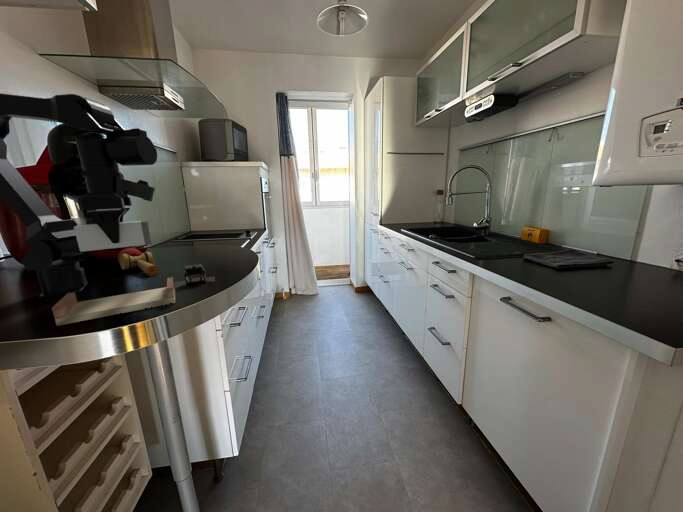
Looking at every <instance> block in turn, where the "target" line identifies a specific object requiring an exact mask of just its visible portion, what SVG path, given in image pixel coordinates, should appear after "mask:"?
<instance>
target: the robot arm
mask: <svg viewBox="0 0 683 512" xmlns="http://www.w3.org/2000/svg"><path fill="white" fill-rule="evenodd" d="M13 118H15V119H16V118H17V119H26V120H36V121H42V122H43V121H46V122H54V123H60V124H64V125H68V126H71V127H74V128H77V129H82V130H87V131H88V132H91V133H84V131H80V130H76V129H72V130H71V132H70V133H68V134H66V135H65V137H63V141H64V142H65V143H71V144H75V145H76V147H77V151H78V154H79V159H80V163H81V167H82V170H80V173H81V174H80V175H81V176H82V177H84V180H85V184H86V187H87V188H86V189H87V192H85V193H83V194H82V195H81V196H80V197H79V198H78V199H77V204H78V208H79V211H86V214H87V215H88V216H89V217H90V218H91V219H92V220H93V221H94V223H95V224H97V225H98V226H99V227H100V228H101V229H102V231H103V232H104V233H105V234H106V235H107V237H108V238H109V239H110V240H111V242H112V243H119V242H120V222H124V217H125V215H126V214H127V212H129V211H130V210H131V207H132V206H133V203H132V197H136V198H139V199H142V200H144V201H147V202H153V199H154V193H155V191H156V187H153V186H150V185H149V181H146V180H143V179H138V181H137V182H135V181H131V180H128V179H125V177H124V174H123V173H122V172H121V171H120V166H122V167H129V166H132V167H133V166H153V165H155V163H156V162H157V160H158V151H157V148H156V147H155V145H154V143H153V141H152V140H151V139H150V138H149V136H148V133H147V130H145V129H142V128H140V127H139V128H131V129H125V128H124V127H123V126H122V124H120V122H119V121H118V120H117V119H116V118H115V116H114V113H113V112H112V110H111V109H110V108H109V106H107V105H106V104H103V103H101V102H98V101H95V100H93V99H90V98H88V97H84V96H81V95H79V94H75V93H68V94H67V93H66V94H55V95H54V96H52V97H49V98H48V97H47V98H43V97H35V96H29V95H28V96H27V95H19V94H10V93H9V94H8V93H0V198H1V199H2V200H3V202H4V203H5V204H6V205H7V206H8V207H9V208H10V210H11V211H12V212H13V214H15V216H16V217H17V218H18V219H19V220H20V221H21V222H22V223H23V225H24V227H25V228H26V229H25V230H26V232H25V234H26V235H25V241H26V242H27V244H28V246H29V250H28V251H27V253H26V254H25V256H24V257H23V258H22V260H21V264H22V265H23V266H24V268H25V269H26V271H35V272H36V275H37V278H38V281H39V285H40V289H41V292H42V293H40V295H39V298H40V299H43V298H49V297H56V296H62V295H66V294H67V293H73V292H75V294H76V293H79V292H82V290H83V289H85V287H86V286H87V285H88V279H87V275H86V272H85V269H84V267H81V265H80V262H81V261H83V262H84V261H85V260H86V255H87V251H82V252H80V249H79V245H78V241H77V238H76V234H75V230H74V227H75V226H78V223H77V222H76V221H75V220H74V219H61V218H59V217H58V216H56V215H55V214H54V212H53V211H52V210H51V209H50V208H49V207H48V205H47V204H46V203H45V202H44V201H43V199H41V197H40V196H39V194H37V192H36V191H35V190H34V189H33V188H32V186H31V185H30V184H29V183H28V182H27V181H26V179H25V178H24V177H23V176H22V175H21V173H20V172H19V171H18V170H17V168H16V167H15V166H14V165H13V164H12V163H11V161H10V160H9V158H8V156H7V155H8V145H7V144H6V142H5V139H6V137H8V135H10V132H11V131H10V120H12V119H13ZM100 134H101V135H100ZM102 135H104V136H105V137H103V136H102ZM119 165H120V166H119ZM130 196H132V197H130ZM127 206H128V207H127Z"/></svg>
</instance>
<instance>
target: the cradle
mask: <svg viewBox="0 0 683 512" xmlns="http://www.w3.org/2000/svg"><path fill="white" fill-rule="evenodd" d="M174 282H175V281H174V277H173V276H171V277H167V279H166V286H165V287H158V288H153V289H147V290H141V291H136V292H130V293H129V292H128V293H123V294H118V295H111V296H107V297H105V296H104V297H100V298H99V297H98V298H93V299H88V300H82V301H78V299H77V296H76V293H75V292H73V293H67V294H64V296H63V297H62V298H61V299H60V300H58V302H56V303H55V305H53V306H52V307H51V311H52V313H53V317H54V321H55V325H56V326H58V327H59V326H64V325H69V324H75V323H79V322H83V321H88V320H94V319H99V318H104V317H110V316H114V315H115V314H116V315H119V314H120V313H121V314H125V313H129V312H130V313H131V312H135V311H136V312H137V311H141V310H145V308H147V309H151V307H152V308H155V307H161V305H162V306H166V304H167V305H171V304H170V303H172V304H176V289H175V287H174ZM116 315H115V316H116Z"/></svg>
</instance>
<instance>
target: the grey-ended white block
mask: <svg viewBox="0 0 683 512" xmlns="http://www.w3.org/2000/svg"><path fill="white" fill-rule="evenodd" d="M77 225H78V224H77ZM74 230H75V234H76V238H77V241H78V245H79V249H80V252H82V251H86V252H90V251H98V250H99V251H100V250H107V249H108V250H109V249H118V248H130V247H137V246H145V245H146V246H147V245H152V244H153V239H152V234H151V228H150V223H149V220H135V221H134V220H133V221H123V222H120V242H119V243H112V242H111V240H110V239H109V238H108V237H107V235H106V234H105V233H104V232H103V231H102V229H101V228H100V227H99V226H98V225H97V223H92V224H91V223H90V224H79V225H78V226H75V227H74Z"/></svg>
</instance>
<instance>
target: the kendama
mask: <svg viewBox="0 0 683 512" xmlns="http://www.w3.org/2000/svg"><path fill="white" fill-rule="evenodd" d="M117 261H118V263H119V264H120V268H121V269H122V270H128V269H135V268H137V267H139V269H140V270H142V271H143V272H144V273H145V274H146V275H147V276H149V277H153V276H156V275H158V273H159V267H158V266H157V265H155V264H154V256H153V253H152V252H151V251H145V252H143V253H142V252H141V250H139V249H137V248H133V247H126V248H124V249H123V250H122V249H121V251H119V253H118V256H117Z"/></svg>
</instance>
